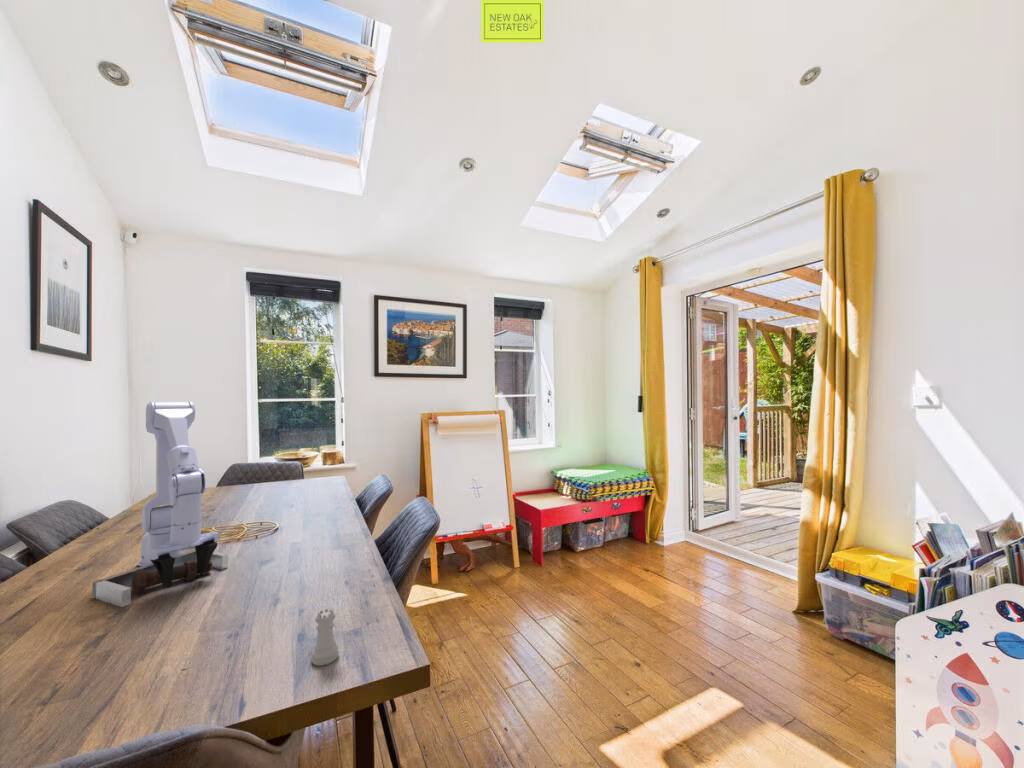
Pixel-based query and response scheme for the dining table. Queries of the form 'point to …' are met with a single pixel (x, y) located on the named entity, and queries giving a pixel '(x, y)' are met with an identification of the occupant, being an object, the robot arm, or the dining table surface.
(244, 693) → the dining table surface
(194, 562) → the bolt
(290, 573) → the dining table surface
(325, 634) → the rook chess piece
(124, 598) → the keeper
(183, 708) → the dining table surface
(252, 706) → the dining table surface
